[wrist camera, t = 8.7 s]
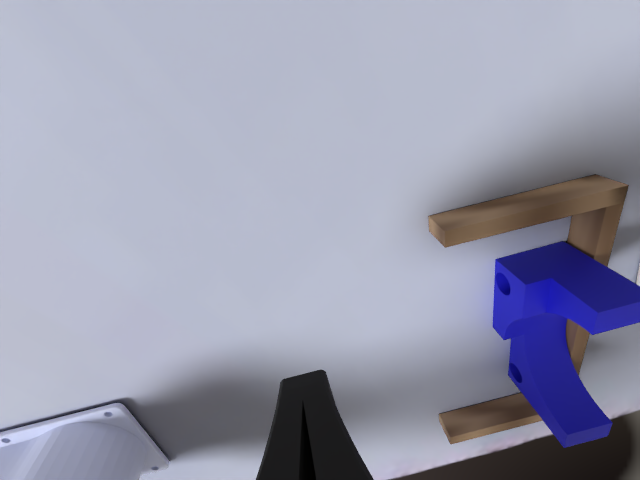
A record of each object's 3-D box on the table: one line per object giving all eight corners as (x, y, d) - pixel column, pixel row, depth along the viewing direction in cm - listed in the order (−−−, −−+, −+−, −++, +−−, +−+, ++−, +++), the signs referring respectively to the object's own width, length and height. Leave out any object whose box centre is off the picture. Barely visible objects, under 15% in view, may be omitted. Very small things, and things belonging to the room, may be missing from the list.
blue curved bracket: (493, 257, 21) (568, 320, 16) (560, 239, 21) (657, 296, 16) (488, 377, 27) (542, 453, 21) (541, 363, 27) (607, 435, 21)
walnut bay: (439, 421, 28) (450, 444, 26) (428, 216, 19) (444, 231, 17) (550, 392, 28) (568, 413, 27) (595, 174, 19) (628, 185, 17)
